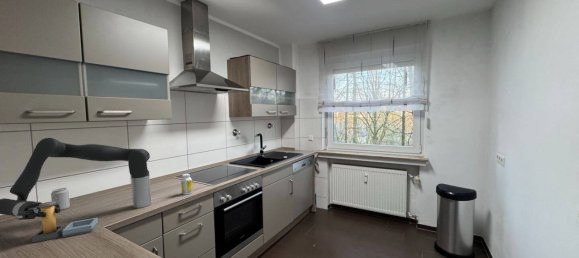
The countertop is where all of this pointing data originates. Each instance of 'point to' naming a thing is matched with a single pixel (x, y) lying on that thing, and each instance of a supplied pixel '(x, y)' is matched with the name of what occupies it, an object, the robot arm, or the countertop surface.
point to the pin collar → (41, 237)
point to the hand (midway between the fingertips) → (52, 212)
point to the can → (61, 197)
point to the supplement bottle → (186, 184)
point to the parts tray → (80, 227)
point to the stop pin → (48, 217)
